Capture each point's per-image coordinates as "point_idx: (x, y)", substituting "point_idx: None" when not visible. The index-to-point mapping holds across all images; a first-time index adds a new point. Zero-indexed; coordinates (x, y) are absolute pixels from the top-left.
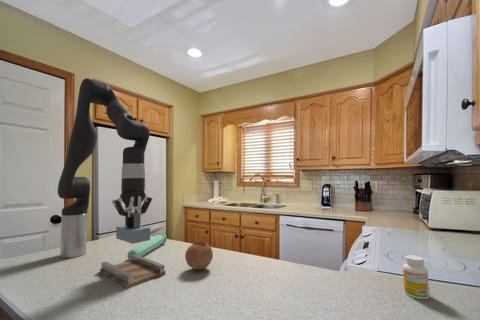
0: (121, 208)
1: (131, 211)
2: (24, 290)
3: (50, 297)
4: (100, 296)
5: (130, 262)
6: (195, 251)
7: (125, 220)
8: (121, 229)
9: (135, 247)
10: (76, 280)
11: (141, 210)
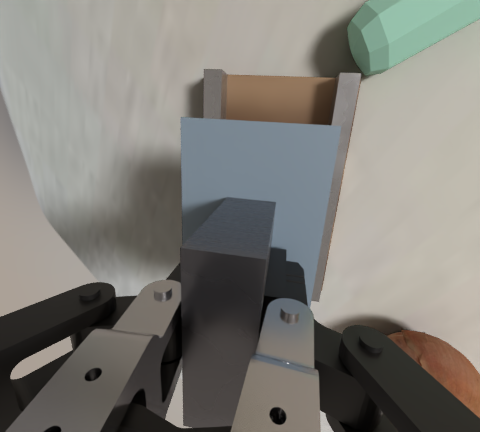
0: (4, 427)
1: (168, 400)
2: (21, 41)
3: (72, 160)
4: (151, 254)
5: (314, 105)
6: (388, 419)
7: (172, 274)
8: (185, 212)
9: (412, 4)
10: (135, 92)
11: (329, 406)
